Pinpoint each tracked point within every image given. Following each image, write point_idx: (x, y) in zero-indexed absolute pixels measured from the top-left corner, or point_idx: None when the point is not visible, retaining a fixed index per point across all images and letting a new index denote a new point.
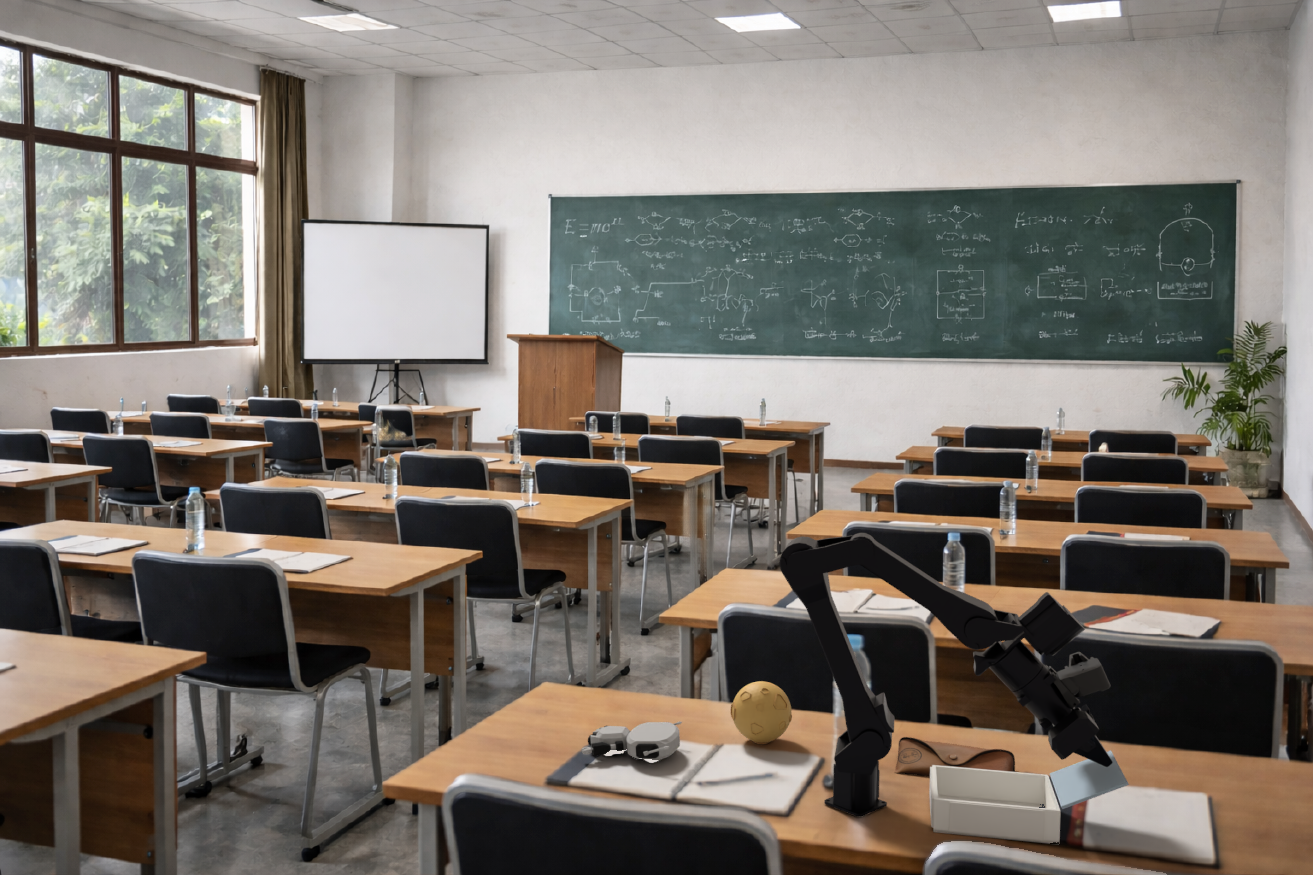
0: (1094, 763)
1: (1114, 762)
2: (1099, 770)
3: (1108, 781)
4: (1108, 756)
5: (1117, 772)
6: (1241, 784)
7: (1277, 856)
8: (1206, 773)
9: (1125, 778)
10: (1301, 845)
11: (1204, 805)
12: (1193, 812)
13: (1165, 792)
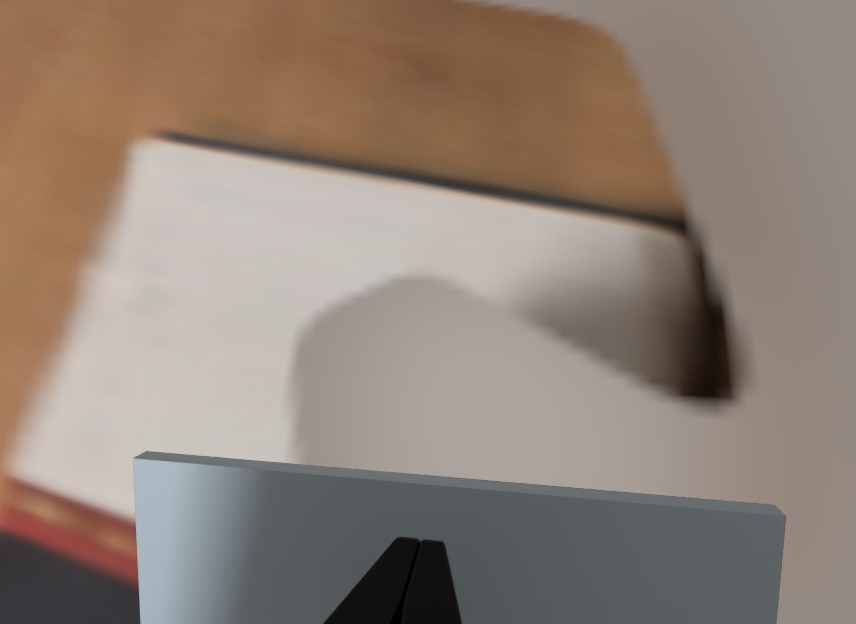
0: (244, 601)
1: (348, 495)
2: None
3: (637, 621)
4: (452, 589)
5: (535, 525)
6: (89, 48)
7: (571, 64)
8: (7, 108)
9: (703, 511)
10: (479, 2)
11: (227, 161)
12: (280, 201)
13: (127, 243)
